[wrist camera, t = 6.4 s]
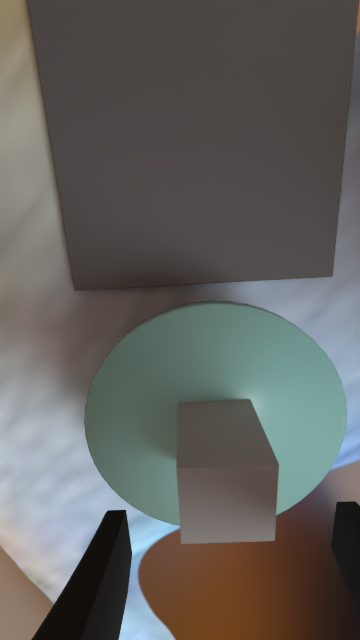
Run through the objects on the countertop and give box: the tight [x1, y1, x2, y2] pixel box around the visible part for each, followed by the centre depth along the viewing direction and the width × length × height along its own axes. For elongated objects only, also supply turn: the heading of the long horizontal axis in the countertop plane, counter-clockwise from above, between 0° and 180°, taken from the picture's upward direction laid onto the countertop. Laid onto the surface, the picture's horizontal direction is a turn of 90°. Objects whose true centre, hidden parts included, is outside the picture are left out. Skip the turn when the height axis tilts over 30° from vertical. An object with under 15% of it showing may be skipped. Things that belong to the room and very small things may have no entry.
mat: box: [28, 0, 359, 291], centre depth 15 cm, size 16×15×1 cm
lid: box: [84, 301, 347, 544], centre depth 12 cm, size 13×13×5 cm
